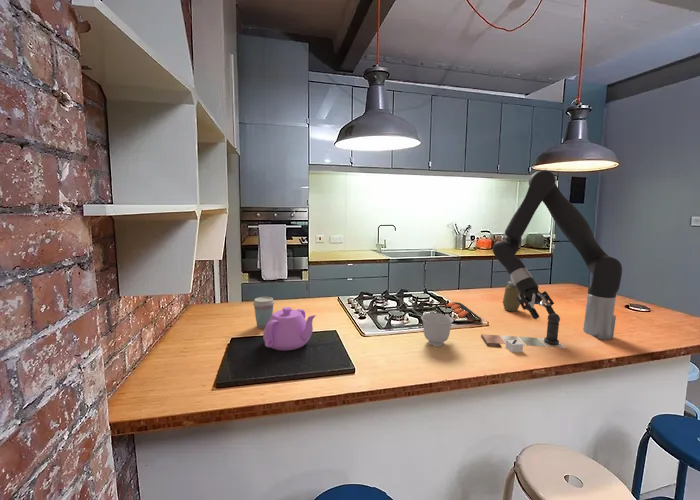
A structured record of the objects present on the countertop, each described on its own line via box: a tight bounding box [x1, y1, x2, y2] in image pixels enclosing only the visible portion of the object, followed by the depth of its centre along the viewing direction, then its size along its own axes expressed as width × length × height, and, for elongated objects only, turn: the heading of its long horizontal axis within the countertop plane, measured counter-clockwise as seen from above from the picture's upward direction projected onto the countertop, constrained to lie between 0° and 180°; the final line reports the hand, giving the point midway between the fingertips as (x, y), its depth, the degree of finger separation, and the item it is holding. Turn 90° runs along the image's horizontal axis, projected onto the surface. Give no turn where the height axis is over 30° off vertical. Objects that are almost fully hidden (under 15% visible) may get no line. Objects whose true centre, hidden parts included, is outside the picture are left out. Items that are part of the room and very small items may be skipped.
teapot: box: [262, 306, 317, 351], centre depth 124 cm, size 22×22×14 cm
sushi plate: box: [429, 301, 483, 323], centre depth 165 cm, size 29×30×4 cm
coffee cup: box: [252, 296, 275, 330], centre depth 142 cm, size 8×8×12 cm
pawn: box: [543, 312, 561, 345], centre depth 128 cm, size 5×5×12 cm
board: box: [480, 333, 567, 349], centre depth 130 cm, size 28×9×1 cm, turn 83°
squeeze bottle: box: [502, 278, 521, 312], centre depth 171 cm, size 8×8×18 cm
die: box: [505, 340, 524, 353], centre depth 122 cm, size 4×4×4 cm
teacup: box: [420, 312, 454, 347], centre depth 130 cm, size 12×15×10 cm
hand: (545, 317), depth 131 cm, fingers open, 8 cm apart
